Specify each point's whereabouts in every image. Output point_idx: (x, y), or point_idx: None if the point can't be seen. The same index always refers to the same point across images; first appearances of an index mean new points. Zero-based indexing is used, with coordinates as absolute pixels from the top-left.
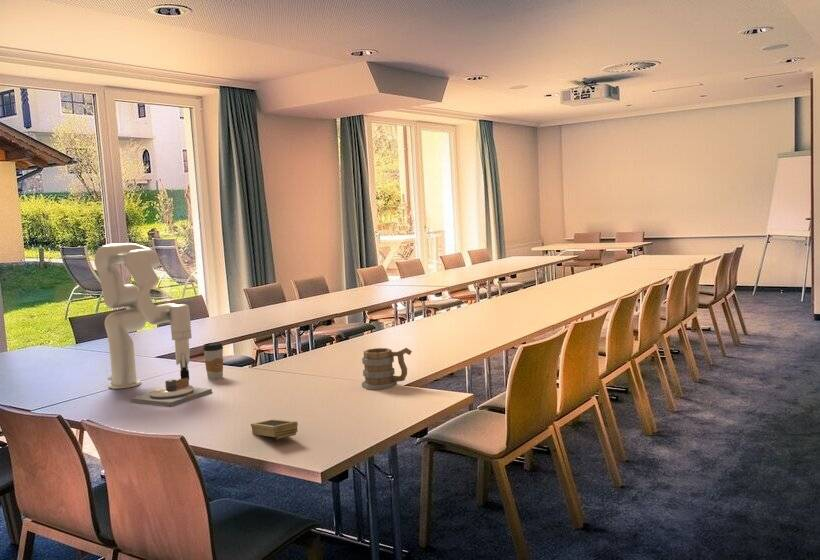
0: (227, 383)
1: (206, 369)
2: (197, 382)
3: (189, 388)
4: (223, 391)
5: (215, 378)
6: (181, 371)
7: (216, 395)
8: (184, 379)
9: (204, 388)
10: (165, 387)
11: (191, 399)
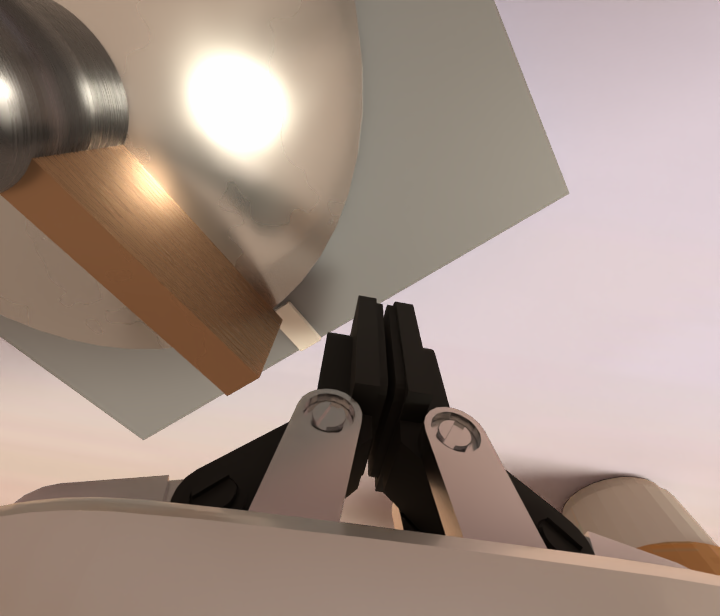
0: (384, 520)
1: (692, 555)
2: (607, 408)
3: (44, 305)
4: (160, 468)
5: (571, 508)
6: (349, 397)
7: (52, 420)
8: (175, 334)
9: (184, 407)
10: (260, 20)
11: None
